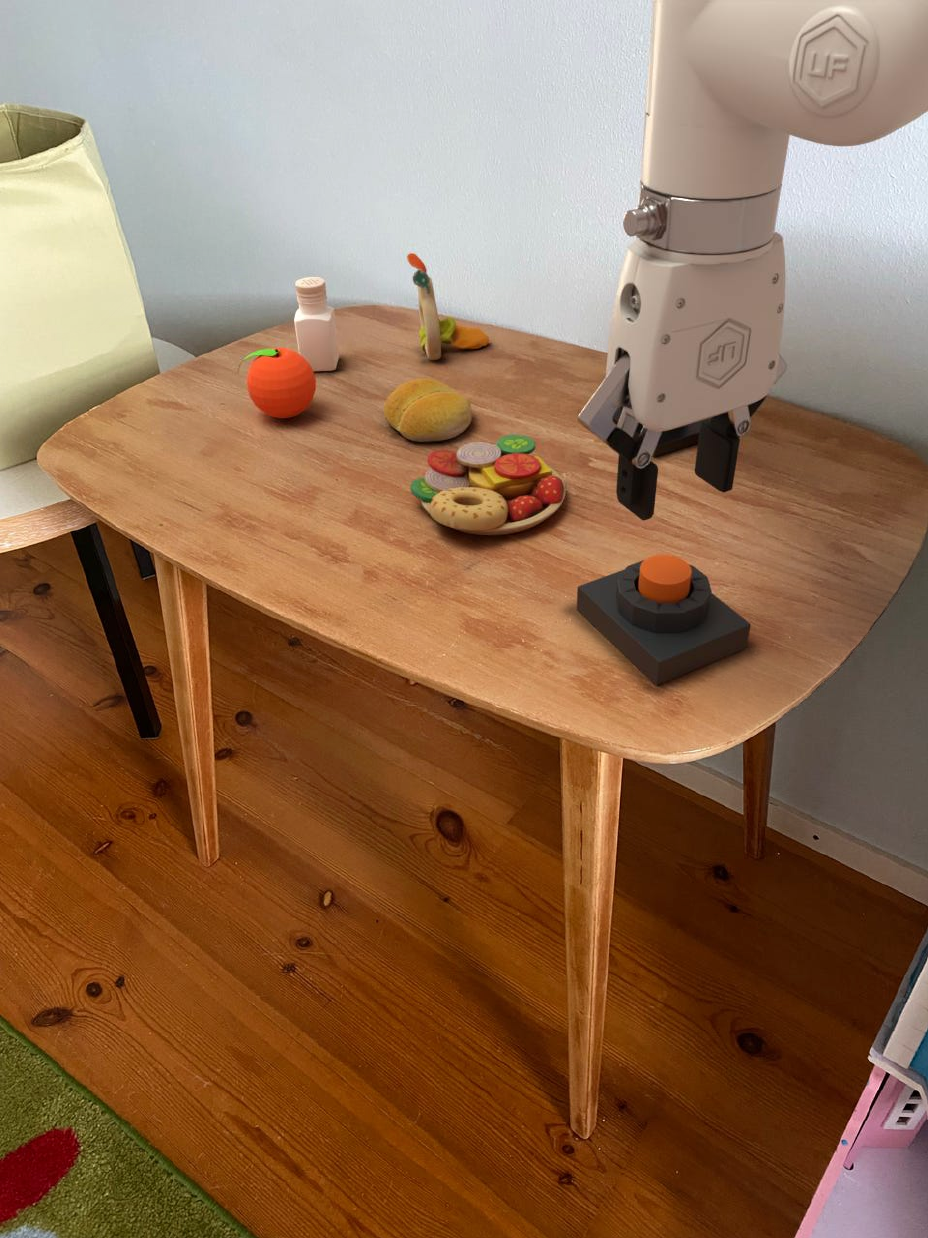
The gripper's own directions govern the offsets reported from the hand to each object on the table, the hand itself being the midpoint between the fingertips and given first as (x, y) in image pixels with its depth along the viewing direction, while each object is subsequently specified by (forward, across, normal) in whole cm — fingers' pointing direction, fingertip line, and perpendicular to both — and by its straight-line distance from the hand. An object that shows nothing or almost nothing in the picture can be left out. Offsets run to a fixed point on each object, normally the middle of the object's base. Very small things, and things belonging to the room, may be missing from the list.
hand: (674, 493), depth 66 cm
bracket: (+12, +19, +26) cm, 34 cm away
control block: (+12, 0, 0) cm, 12 cm away
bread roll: (+12, 0, +38) cm, 40 cm away
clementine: (+12, -12, +48) cm, 51 cm away
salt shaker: (+12, -4, +57) cm, 58 cm away
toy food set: (+12, -2, +22) cm, 25 cm away
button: (+8, 0, 0) cm, 8 cm away
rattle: (+12, +10, +52) cm, 54 cm away
